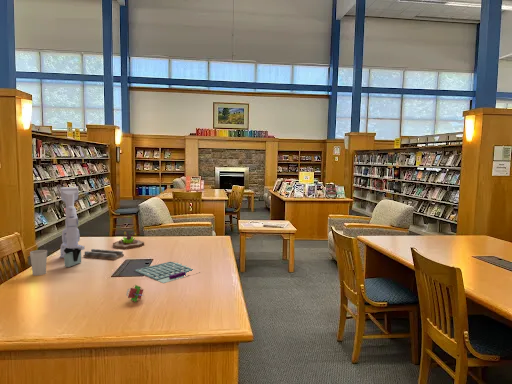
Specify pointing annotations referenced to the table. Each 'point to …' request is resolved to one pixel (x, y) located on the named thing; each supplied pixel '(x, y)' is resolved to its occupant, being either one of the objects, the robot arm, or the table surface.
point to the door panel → (71, 259)
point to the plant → (128, 242)
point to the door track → (103, 254)
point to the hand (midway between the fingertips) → (73, 260)
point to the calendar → (165, 271)
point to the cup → (38, 262)
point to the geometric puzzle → (135, 293)
